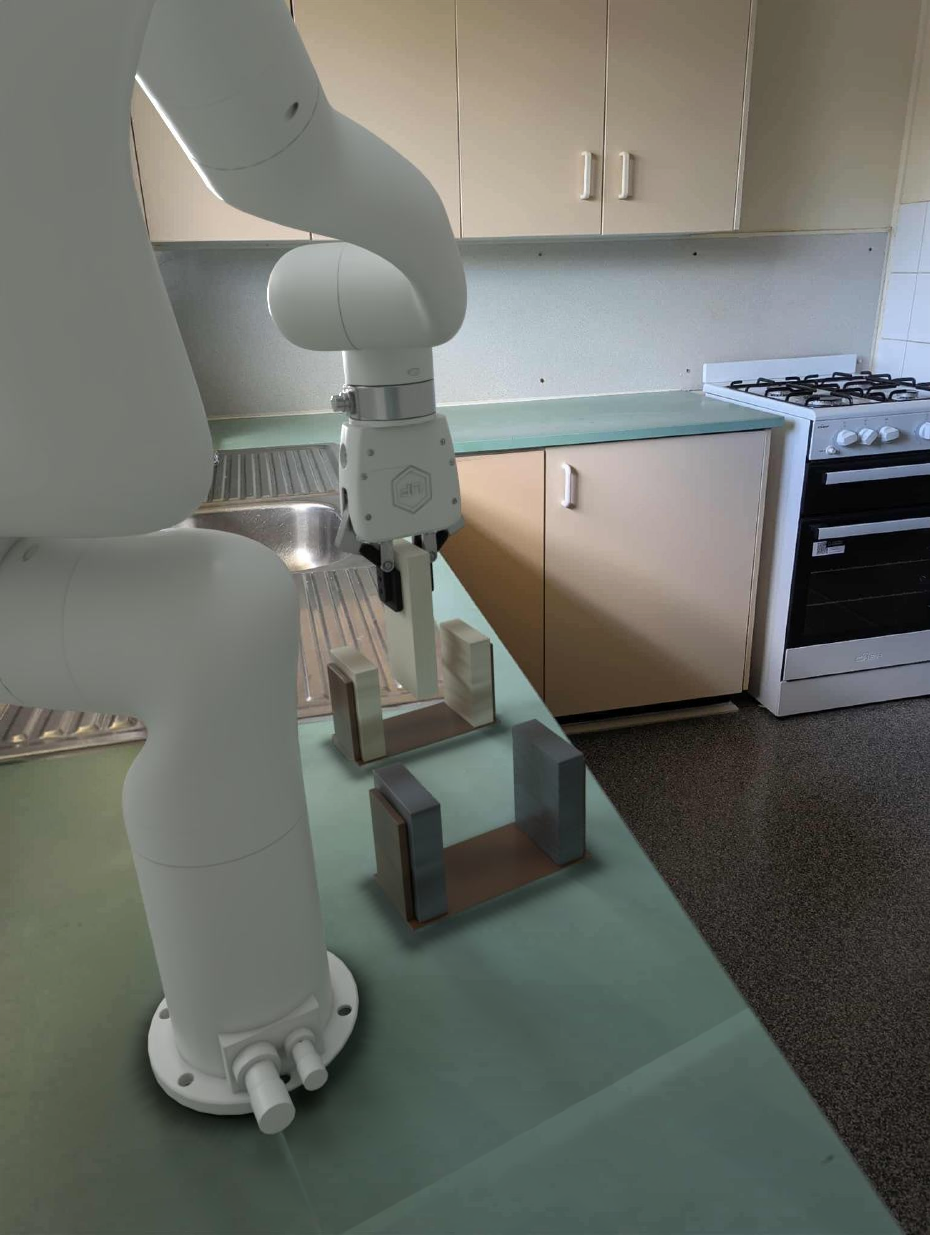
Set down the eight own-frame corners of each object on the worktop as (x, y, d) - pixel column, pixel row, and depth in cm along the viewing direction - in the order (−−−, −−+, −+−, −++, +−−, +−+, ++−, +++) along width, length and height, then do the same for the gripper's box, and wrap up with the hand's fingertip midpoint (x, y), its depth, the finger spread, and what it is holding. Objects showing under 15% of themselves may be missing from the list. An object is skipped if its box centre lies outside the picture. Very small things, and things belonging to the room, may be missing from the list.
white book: (439, 694, 82) (429, 552, 77) (418, 700, 81) (407, 557, 76) (410, 670, 88) (399, 536, 82) (389, 675, 87) (377, 540, 81)
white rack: (501, 730, 87) (498, 637, 83) (359, 775, 80) (349, 677, 77) (467, 703, 93) (463, 615, 89) (332, 743, 86) (321, 650, 82)
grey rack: (593, 866, 67) (594, 752, 63) (413, 942, 60) (403, 819, 56) (542, 821, 72) (540, 714, 69) (373, 885, 66) (361, 770, 62)
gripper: (317, 419, 68) (341, 637, 75) (494, 396, 75) (502, 597, 82) (287, 409, 74) (312, 610, 81) (453, 388, 81) (463, 576, 88)
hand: (407, 602), depth 81 cm, fingers closed on white book, 2 cm apart
